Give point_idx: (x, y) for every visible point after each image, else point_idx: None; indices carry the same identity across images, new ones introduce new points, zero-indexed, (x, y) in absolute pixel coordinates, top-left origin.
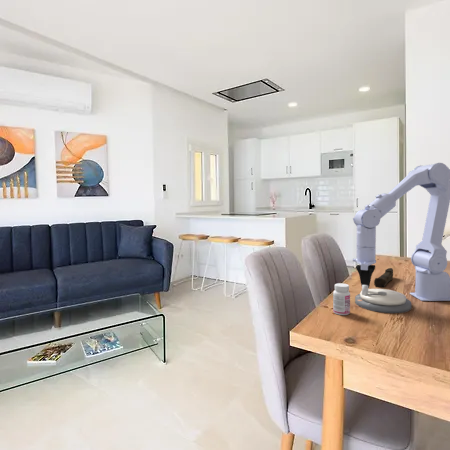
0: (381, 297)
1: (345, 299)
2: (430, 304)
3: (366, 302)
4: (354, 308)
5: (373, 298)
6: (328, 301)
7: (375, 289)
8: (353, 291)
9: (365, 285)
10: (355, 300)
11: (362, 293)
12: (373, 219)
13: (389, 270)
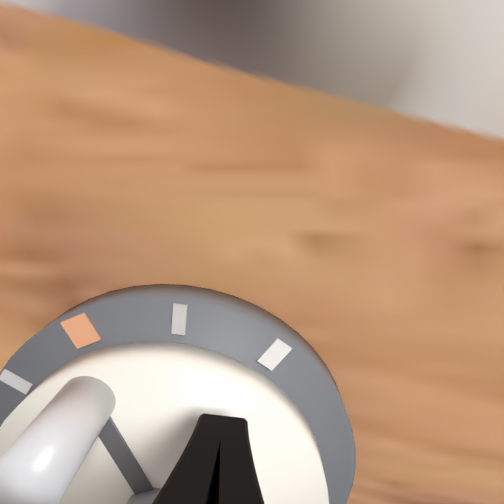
0: (66, 496)
1: None
2: None
3: (52, 371)
4: (11, 273)
5: (6, 447)
6: (99, 55)
7: (299, 483)
8: (475, 283)
9: (24, 494)
10: (137, 293)
11: (61, 389)
12: None
13: None
